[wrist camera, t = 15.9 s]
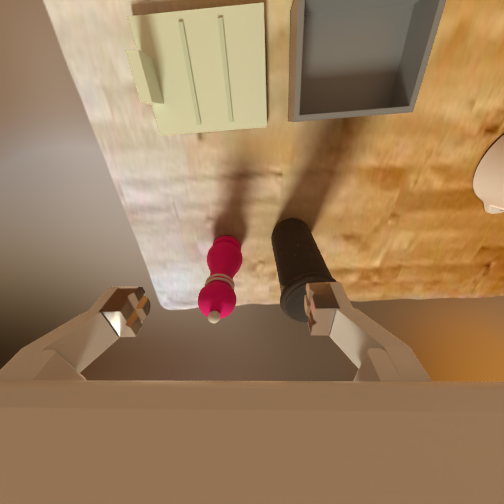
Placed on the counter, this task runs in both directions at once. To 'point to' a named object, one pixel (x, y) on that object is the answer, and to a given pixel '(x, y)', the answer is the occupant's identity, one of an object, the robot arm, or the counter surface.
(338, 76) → the tub
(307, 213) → the counter surface
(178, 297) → the counter surface
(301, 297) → the container
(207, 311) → the pepper mill
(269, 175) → the counter surface
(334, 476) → the robot arm
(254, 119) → the lid
